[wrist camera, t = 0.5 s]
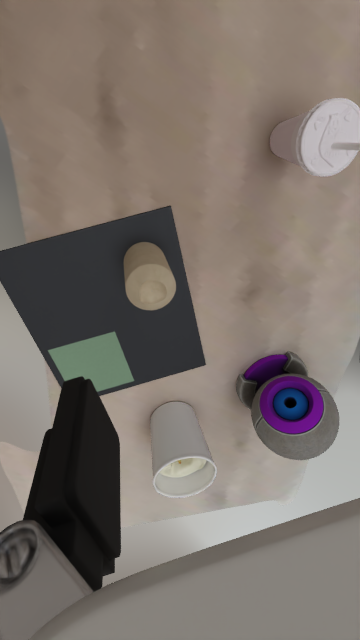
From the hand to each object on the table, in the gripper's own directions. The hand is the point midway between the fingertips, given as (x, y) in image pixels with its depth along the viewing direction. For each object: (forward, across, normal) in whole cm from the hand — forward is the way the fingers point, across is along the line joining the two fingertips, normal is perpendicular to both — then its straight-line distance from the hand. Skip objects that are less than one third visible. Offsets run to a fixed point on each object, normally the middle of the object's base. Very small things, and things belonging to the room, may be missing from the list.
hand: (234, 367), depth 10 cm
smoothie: (+32, -18, -4) cm, 37 cm away
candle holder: (+33, +6, +36) cm, 49 cm away
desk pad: (+32, +9, +13) cm, 36 cm away
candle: (+32, +2, +6) cm, 33 cm away
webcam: (+33, -14, +34) cm, 50 cm away
